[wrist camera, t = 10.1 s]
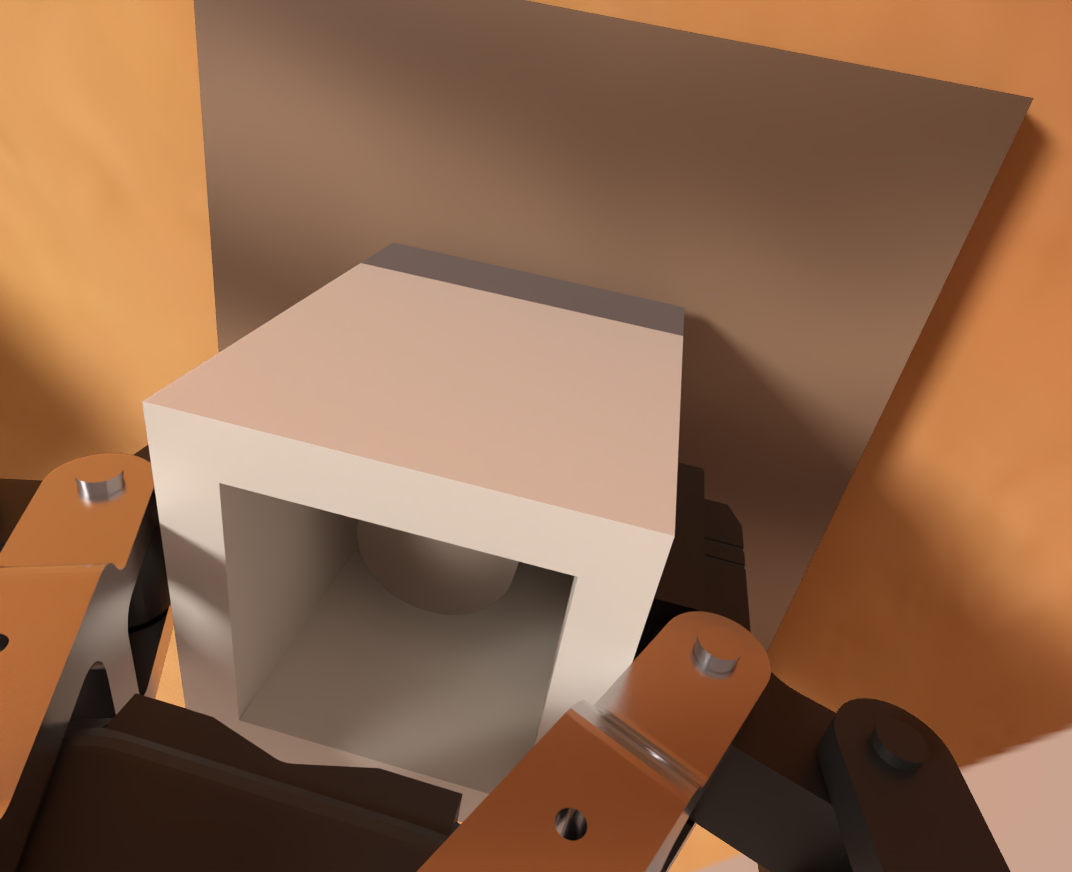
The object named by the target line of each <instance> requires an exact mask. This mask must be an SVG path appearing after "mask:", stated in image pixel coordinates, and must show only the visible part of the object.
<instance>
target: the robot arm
mask: <svg viewBox="0 0 1072 872" xmlns="http://www.w3.org/2000/svg"><path fill="white" fill-rule="evenodd" d="M743 548H744V544H743V532H742V525H741V524H740V522H739V521H738V519H737V518H736V516H735V515H734V513H733V512H732V510H731V508H730V507H729V505H727V504H723V503H719V502H715V501H712V500H708V499H704V469H703V468H699V467H695V466H691V465H687V464H683V463H679V462H678V470H677V493H676V517H675V537H674V540H673V543H672V546H671V549H670V551H669V554H668V557H667V560H666V563H665V566H664V569H663V572H662V575H661V578H660V581H659V584H658V587H657V590H656V593H655V596H654V599H653V602H652V605H651V608H650V611H649V614H648V617H647V620H646V623H645V626H644V629H643V632H642V635H641V638H640V641H639V644H638V647H637V650H636V653H635V656H634V659H633V662H632V664H631V665H630V666H629V667H628V668H627V669H626V670H625V671H624V672H623V674H622V675H621V676H620V677H619V678H618V679H617V680H616V681H615V682H614V684H613V685H612V686H611V687H610V688H609V689H608V690H607V691H606V692H605V694H604V695H603V696H602V697H601V698H600V699H599V700H598V701H597V702H596V703H595V704H594V705H591V704H590V703H588V702H587V701H586V700H581V701H579V702H577V703H576V704H574V705H573V706H572V707H571V708H570V709H569V710H568V711H567V712H566V713H565V714H564V715H563V716H562V717H561V718H560V719H559V720H558V721H557V722H556V723H555V724H554V725H553V727H552V728H551V729H550V730H549V731H548V732H547V733H546V734H545V735H544V736H543V737H542V738H541V739H540V740H539V741H538V743H537V744H536V745H535V746H534V747H533V748H532V749H531V750H530V751H529V752H528V753H527V754H526V755H525V756H524V757H523V759H522V760H521V761H520V762H519V763H518V764H517V765H516V766H515V767H514V768H513V769H512V770H511V771H510V772H509V774H508V775H507V776H506V777H505V778H504V779H503V780H502V781H501V782H500V783H499V784H498V785H497V786H496V787H495V788H494V790H493V791H492V792H491V793H490V794H489V795H488V796H487V797H486V798H485V799H484V800H483V801H482V802H481V803H480V804H479V806H478V807H477V808H476V809H475V810H474V811H473V812H472V813H471V814H470V815H469V816H468V817H467V818H466V819H465V820H464V822H463V823H462V824H461V825H460V824H459V823H457V821H458V816H459V811H460V805H461V800H462V795H463V794H462V793H458V792H455V791H452V790H449V789H445V788H442V787H439V786H436V785H432V784H429V783H426V782H423V781H419V780H416V779H413V778H410V777H406V776H403V775H400V774H397V773H393V772H390V771H387V770H384V769H380V768H366V767H347V766H328V765H309V764H292V763H286V762H282V761H280V760H278V759H276V758H274V757H273V756H271V755H270V754H268V753H267V752H265V751H264V750H262V749H261V748H259V747H258V746H256V745H255V744H253V743H252V742H250V741H249V740H247V739H246V738H244V737H243V736H241V735H240V734H238V733H237V732H235V731H233V730H232V729H230V728H229V727H227V726H226V725H224V724H223V723H221V722H220V721H218V720H217V719H215V718H214V717H212V716H208V715H205V714H202V713H199V712H195V711H192V710H189V709H186V708H182V707H179V706H176V705H173V704H169V703H166V702H163V701H160V700H156V699H155V697H156V693H157V689H158V685H159V682H160V678H161V674H162V670H163V666H164V662H165V658H166V654H167V650H168V646H169V642H170V638H171V634H172V630H173V626H174V622H173V615H172V608H171V601H170V594H169V587H168V580H167V573H166V566H165V559H164V551H163V544H162V537H161V530H160V523H159V516H158V509H157V502H156V495H155V488H154V481H153V474H152V467H151V460H150V452H149V445H147V446H146V447H144V448H143V449H141V450H140V451H139V452H137V453H136V454H134V455H129V454H122V453H103V454H94V455H89V456H84V457H81V458H77V459H74V460H72V461H69V462H66V463H64V464H62V465H60V466H58V467H57V468H55V469H54V470H52V471H51V472H50V473H49V474H48V475H47V476H46V477H45V478H44V480H43V481H37V480H17V479H0V872H668V871H669V869H670V868H671V866H672V864H673V863H674V861H675V859H676V858H677V856H678V854H679V852H680V851H681V849H682V847H683V846H684V844H685V842H686V841H687V839H688V837H689V836H690V834H691V832H692V831H693V829H694V827H695V826H696V824H698V825H700V826H701V827H703V828H704V829H706V830H707V831H709V832H710V833H712V834H714V835H715V836H717V837H718V838H720V839H721V840H723V841H724V842H726V843H727V844H729V845H730V846H732V847H733V848H735V849H736V850H738V851H740V852H741V853H743V854H744V855H746V856H747V857H749V858H750V859H752V860H753V861H755V862H757V863H758V869H759V872H1010V870H1009V868H1008V866H1007V864H1006V862H1005V860H1004V858H1003V856H1002V854H1001V852H1000V850H999V848H998V846H997V844H996V842H995V840H994V838H993V836H992V834H991V832H990V830H989V828H988V826H987V824H986V822H985V820H984V818H983V816H982V814H981V812H980V810H979V808H978V806H977V804H976V802H975V800H974V798H973V796H972V794H971V792H970V790H969V788H968V786H967V784H966V782H965V780H964V778H963V776H962V774H961V772H960V770H959V768H958V766H957V764H956V762H955V760H954V758H953V756H952V754H951V753H950V751H949V749H948V748H947V747H946V745H945V744H944V743H943V741H942V740H941V739H940V738H939V737H938V736H937V735H936V734H935V733H934V732H933V731H932V730H931V729H930V728H929V727H928V726H927V725H926V724H924V723H923V722H922V721H920V720H919V719H918V718H916V717H915V716H913V715H912V714H910V713H908V712H907V711H905V710H903V709H901V708H899V707H897V706H895V705H892V704H890V703H887V702H884V701H880V700H876V699H867V698H863V699H855V700H851V701H848V702H847V703H845V704H843V705H842V706H841V707H840V708H839V710H838V711H837V713H835V712H833V711H831V710H829V709H827V708H826V707H824V706H822V705H820V704H818V703H816V702H815V701H813V700H811V699H809V698H807V697H805V696H803V695H802V694H800V693H798V692H797V691H795V690H793V689H792V688H790V687H789V686H787V685H786V684H785V683H783V682H782V681H781V680H779V679H778V678H777V677H776V676H775V675H774V674H773V673H772V672H771V664H770V660H769V657H768V655H767V653H766V651H765V649H764V647H763V646H762V645H761V643H760V642H759V641H758V640H757V639H756V637H755V636H754V635H753V634H752V633H751V629H750V616H749V604H748V592H747V580H746V569H744V567H745V556H744V551H743Z"/></svg>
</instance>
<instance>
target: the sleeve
mask: <svg viewBox="0 0 1072 872" xmlns="http://www.w3.org/2000/svg"><path fill="white" fill-rule="evenodd" d="M683 329H684V307H681V306H676V305H672V304H667V303H663V302H658V301H654V300H649V299H645V298H640V297H636V296H631V295H627V294H622V293H618V292H613V291H609V290H604V289H600V288H595V287H591V286H586V285H582V284H577V283H573V282H569V281H564V280H560V279H555V278H551V277H546V276H542V275H537V274H533V273H528V272H524V271H519V270H515V269H510V268H506V267H501V266H497V265H492V264H488V263H483V262H479V261H474V260H470V259H465V258H461V257H456V256H452V255H447V254H443V253H438V252H434V251H430V250H425V249H421V248H416V247H412V246H407V245H403V244H398V243H394V242H393V243H391V244H390V245H388V246H387V247H385V248H384V249H382V250H380V251H379V252H377V253H376V254H374V255H373V256H371V257H369V258H368V259H366V260H365V261H363V262H361V263H360V264H358V265H357V266H355V267H354V268H352V269H350V270H349V271H347V272H346V273H344V274H342V275H341V276H339V277H338V278H336V279H335V280H333V281H331V282H330V283H328V284H327V285H325V286H323V287H322V288H320V289H319V290H317V291H316V292H314V293H312V294H311V295H309V296H308V297H306V298H305V299H303V300H301V301H300V302H298V303H297V304H295V305H293V306H292V307H290V308H289V309H287V310H286V311H284V312H282V313H281V314H279V315H278V316H276V317H274V318H273V319H271V320H270V321H268V322H267V323H265V324H263V325H262V326H260V327H259V328H257V329H256V330H254V331H252V332H251V333H249V334H248V335H246V336H244V337H243V338H241V339H240V340H238V341H237V342H235V343H233V344H232V345H230V346H229V347H227V348H225V349H224V350H222V351H221V352H219V353H218V354H216V355H214V356H213V357H211V358H210V359H208V360H207V361H205V362H203V363H202V364H200V365H199V366H197V367H195V368H194V369H192V370H191V371H189V372H188V373H186V374H184V375H183V376H181V377H180V378H178V379H176V380H175V381H173V382H172V383H170V384H169V385H167V386H165V387H164V388H162V389H161V390H159V391H158V392H156V393H154V394H153V395H151V396H150V397H148V398H146V399H145V400H143V401H142V403H143V410H144V417H145V424H146V431H147V438H148V445H149V452H150V460H151V467H152V474H153V481H154V488H155V495H156V502H157V509H158V516H159V523H160V530H161V537H162V544H163V551H164V559H165V566H166V573H167V580H168V587H169V594H170V601H171V608H172V615H173V622H174V629H175V636H176V643H177V650H178V658H179V665H180V672H181V679H182V686H183V693H184V700H185V707H186V709H189V710H192V711H195V712H199V713H202V714H205V715H208V716H212V717H214V718H215V719H217V720H218V721H220V722H221V723H223V724H224V725H226V726H227V727H229V728H230V729H232V730H233V731H235V732H237V733H238V734H240V735H241V736H243V737H244V738H246V739H247V740H249V741H250V742H252V743H253V744H255V745H256V746H258V747H259V748H261V749H262V750H264V751H265V752H267V753H268V754H270V755H271V756H273V757H274V758H276V759H278V760H280V761H282V762H286V763H292V764H309V765H328V766H347V767H366V768H380V769H384V770H387V771H390V772H393V773H397V774H400V775H403V776H406V777H410V778H413V779H416V780H419V781H423V782H426V783H429V784H432V785H436V786H439V787H442V788H445V789H449V790H452V791H455V792H458V793H462V794H463V795H462V800H461V805H460V811H459V816H458V821H460V822H464V820H465V819H466V818H467V817H468V816H469V815H470V814H471V813H472V812H473V811H474V810H475V809H476V808H477V807H478V806H479V804H480V803H481V802H482V801H483V800H484V799H485V798H486V797H487V796H488V795H489V794H490V793H491V792H492V791H493V790H494V788H495V787H496V786H497V785H498V784H499V783H500V782H501V781H502V780H503V779H504V778H505V777H506V776H507V775H508V774H509V772H510V771H511V770H512V769H513V768H514V767H515V766H516V765H517V764H518V763H519V762H520V761H521V760H522V759H523V757H524V756H525V755H526V754H527V753H528V752H529V751H530V750H531V749H532V748H533V747H534V746H535V745H536V744H537V743H538V741H539V740H540V739H541V738H542V737H543V736H544V735H545V734H546V733H547V732H548V731H549V730H550V729H551V728H552V727H553V725H554V724H555V723H556V722H557V721H558V720H559V719H560V718H561V717H562V716H563V715H564V714H565V713H566V712H567V711H568V710H569V709H570V708H571V707H572V706H573V705H574V704H576V703H577V702H579V701H581V700H586V701H587V702H588V703H590V704H591V705H594V704H595V703H596V702H597V701H598V700H599V699H600V698H601V697H602V696H603V695H604V694H605V692H606V691H607V690H608V689H609V688H610V687H611V686H612V685H613V684H614V682H615V681H616V680H617V679H618V678H619V677H620V676H621V675H622V674H623V672H624V671H625V670H626V669H627V668H628V667H629V666H630V665H631V664H632V662H633V659H634V656H635V653H636V650H637V647H638V644H639V641H640V638H641V635H642V632H643V629H644V626H645V623H646V620H647V617H648V614H649V611H650V608H651V605H652V602H653V599H654V596H655V593H656V590H657V587H658V584H659V581H660V578H661V575H662V572H663V569H664V566H665V563H666V560H667V557H668V554H669V551H670V549H671V546H672V543H673V540H674V537H675V517H676V493H677V470H678V447H679V423H680V400H681V376H682V353H683ZM358 519H359V520H363V521H367V522H371V523H374V524H378V525H382V526H386V527H390V528H393V529H397V530H401V531H405V532H409V533H413V534H416V535H420V536H424V537H428V538H432V539H435V540H439V541H443V542H447V543H451V544H455V545H458V546H462V547H466V548H470V549H474V550H477V551H481V552H485V553H489V554H493V555H497V556H500V557H504V558H508V559H512V560H516V561H519V563H518V566H517V569H516V571H515V574H514V577H513V580H512V582H511V584H510V586H509V588H508V590H507V591H506V592H505V594H504V595H503V596H502V597H501V598H500V599H499V600H498V601H497V602H495V603H494V604H492V605H491V606H489V607H487V608H485V609H483V610H480V611H477V612H474V613H469V614H461V615H446V614H438V613H433V612H429V611H426V610H423V609H420V608H417V607H415V606H412V605H410V604H408V603H406V602H404V601H403V600H401V599H399V598H398V597H396V596H395V595H393V594H392V593H390V592H389V591H388V590H387V589H386V588H384V587H383V586H382V585H381V584H380V583H379V582H378V581H377V580H376V578H375V577H374V576H373V575H372V573H371V572H370V571H369V569H368V567H367V566H366V564H365V562H364V560H363V558H362V556H361V553H360V550H359V547H358V542H357V523H358Z"/></svg>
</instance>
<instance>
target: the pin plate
mask: <svg viewBox="0 0 1072 872" xmlns="http://www.w3.org/2000/svg"><path fill="white" fill-rule="evenodd" d="M194 10H195V24H196V38H197V53H198V67H199V81H200V95H201V109H202V123H203V137H204V151H205V165H206V179H207V193H208V208H209V222H210V236H211V250H212V264H213V278H214V292H215V306H216V320H217V334H218V348H219V352H221V351H222V350H224V349H225V348H227V347H229V346H230V345H232V344H233V343H235V342H237V341H238V340H240V339H241V338H243V337H244V336H246V335H248V334H249V333H251V332H252V331H254V330H256V329H257V328H259V327H260V326H262V325H263V324H265V323H267V322H268V321H270V320H271V319H273V318H274V317H276V316H278V315H279V314H281V313H282V312H284V311H286V310H287V309H289V308H290V307H292V306H293V305H295V304H297V303H298V302H300V301H301V300H303V299H305V298H306V297H308V296H309V295H311V294H312V293H314V292H316V291H317V290H319V289H320V288H322V287H323V286H325V285H327V284H328V283H330V282H331V281H333V280H335V279H336V278H338V277H339V276H341V275H342V274H344V273H346V272H347V271H349V270H350V269H352V268H354V267H355V266H357V265H358V264H360V263H361V262H363V261H365V260H366V259H368V258H369V257H371V256H373V255H374V254H376V253H377V252H379V251H380V250H382V249H384V248H385V247H387V246H388V245H390V244H391V243H393V242H394V243H398V244H403V245H407V246H412V247H416V248H421V249H425V250H430V251H434V252H438V253H443V254H447V255H452V256H456V257H461V258H465V259H470V260H474V261H479V262H483V263H488V264H492V265H497V266H501V267H506V268H510V269H515V270H519V271H524V272H528V273H533V274H537V275H542V276H546V277H551V278H555V279H560V280H564V281H569V282H573V283H577V284H582V285H586V286H591V287H595V288H600V289H604V290H609V291H613V292H618V293H622V294H627V295H631V296H636V297H640V298H645V299H649V300H654V301H658V302H663V303H667V304H672V305H676V306H681V307H684V329H683V353H682V376H681V400H680V423H679V447H678V462H679V463H683V464H687V465H691V466H695V467H699V468H703V469H704V499H708V500H712V501H715V502H719V503H723V504H727V505H729V507H730V508H731V510H732V512H733V513H734V515H735V516H736V518H737V519H738V521H739V522H740V524H741V525H742V532H743V544H744V548H743V551H744V556H745V567H744V569H746V580H747V592H748V604H749V616H750V629H751V633H752V634H753V635H754V636H755V637H756V639H757V640H758V641H759V642H760V643H761V645H762V646H763V647H764V649H765V651H766V653H767V651H768V649H769V647H770V645H771V643H772V641H773V639H774V637H775V635H776V633H777V631H778V629H779V626H780V624H781V622H782V620H783V618H784V616H785V614H786V612H787V610H788V608H789V606H790V604H791V602H792V599H793V597H794V595H795V593H796V591H797V589H798V587H799V585H800V583H801V581H802V579H803V577H804V575H805V572H806V570H807V568H808V566H809V564H810V562H811V560H812V558H813V556H814V554H815V552H816V550H817V547H818V545H819V543H820V541H821V539H822V537H823V535H824V533H825V531H826V529H827V527H828V525H829V523H830V520H831V518H832V516H833V514H834V512H835V510H836V508H837V506H838V504H839V502H840V500H841V498H842V495H843V493H844V491H845V489H846V487H847V485H848V483H849V481H850V479H851V477H852V475H853V473H854V471H855V468H856V466H857V464H858V462H859V460H860V458H861V456H862V454H863V452H864V450H865V448H866V446H867V443H868V441H869V439H870V437H871V435H872V433H873V431H874V429H875V427H876V425H877V423H878V421H879V419H880V416H881V414H882V412H883V410H884V408H885V406H886V404H887V402H888V400H889V398H890V396H891V394H892V391H893V389H894V387H895V385H896V383H897V381H898V379H899V377H900V375H901V373H902V371H903V369H904V367H905V364H906V362H907V360H908V358H909V356H910V354H911V352H912V350H913V348H914V346H915V344H916V342H917V339H918V337H919V335H920V333H921V331H922V329H923V327H924V325H925V323H926V321H927V319H928V317H929V315H930V312H931V310H932V308H933V306H934V304H935V302H936V300H937V298H938V296H939V294H940V292H941V290H942V287H943V285H944V283H945V281H946V279H947V277H948V275H949V273H950V271H951V269H952V267H953V265H954V263H955V260H956V258H957V256H958V254H959V252H960V250H961V248H962V246H963V244H964V242H965V240H966V238H967V235H968V233H969V231H970V229H971V227H972V225H973V223H974V221H975V219H976V217H977V215H978V213H979V211H980V208H981V206H982V204H983V202H984V200H985V198H986V196H987V194H988V192H989V190H990V188H991V186H992V183H993V181H994V179H995V177H996V175H997V173H998V171H999V169H1000V167H1001V165H1002V163H1003V161H1004V159H1005V156H1006V154H1007V152H1008V150H1009V148H1010V146H1011V144H1012V142H1013V140H1014V138H1015V136H1016V134H1017V131H1018V129H1019V127H1020V125H1021V123H1022V121H1023V119H1024V117H1025V115H1026V113H1027V111H1028V109H1029V107H1030V104H1031V102H1032V100H1033V98H1030V97H1025V96H1019V95H1014V94H1009V93H1004V92H999V91H993V90H988V89H983V88H978V87H973V86H967V85H962V84H957V83H952V82H947V81H941V80H936V79H931V78H926V77H921V76H915V75H910V74H905V73H900V72H895V71H889V70H884V69H879V68H874V67H869V66H863V65H858V64H853V63H848V62H843V61H837V60H832V59H827V58H822V57H817V56H811V55H806V54H801V53H796V52H791V51H785V50H780V49H775V48H770V47H765V46H759V45H754V44H749V43H744V42H739V41H733V40H728V39H723V38H718V37H713V36H707V35H702V34H697V33H692V32H687V31H681V30H676V29H671V28H666V27H661V26H655V25H650V24H645V23H640V22H635V21H629V20H624V19H619V18H614V17H609V16H603V15H598V14H593V13H588V12H583V11H577V10H572V9H567V8H562V7H557V6H551V5H546V4H541V3H536V2H531V1H525V0H194ZM357 542H358V547H359V550H360V553H361V556H362V558H363V560H364V562H365V564H366V566H367V567H368V569H369V571H370V572H371V573H372V575H373V576H374V577H375V578H376V580H377V581H378V582H379V583H380V584H381V585H382V586H383V587H384V588H386V589H387V590H388V591H389V592H390V593H392V594H393V595H395V596H396V597H398V598H399V599H401V600H403V601H404V602H406V603H408V604H410V605H412V606H415V607H417V608H420V609H423V610H426V611H429V612H433V613H438V614H446V615H461V614H469V613H474V612H477V611H480V610H483V609H485V608H487V607H489V606H491V605H492V604H494V603H495V602H497V601H498V600H499V599H500V598H501V597H502V596H503V595H504V594H505V592H506V591H507V590H508V588H509V586H510V584H511V582H512V580H513V577H514V574H515V571H516V569H517V566H518V563H519V561H516V560H512V559H508V558H504V557H500V556H497V555H493V554H489V553H485V552H481V551H477V550H474V549H470V548H466V547H462V546H458V545H455V544H451V543H447V542H443V541H439V540H435V539H432V538H428V537H424V536H420V535H416V534H413V533H409V532H405V531H401V530H397V529H393V528H390V527H386V526H382V525H378V524H374V523H371V522H367V521H363V520H359V519H358V523H357Z"/></svg>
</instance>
